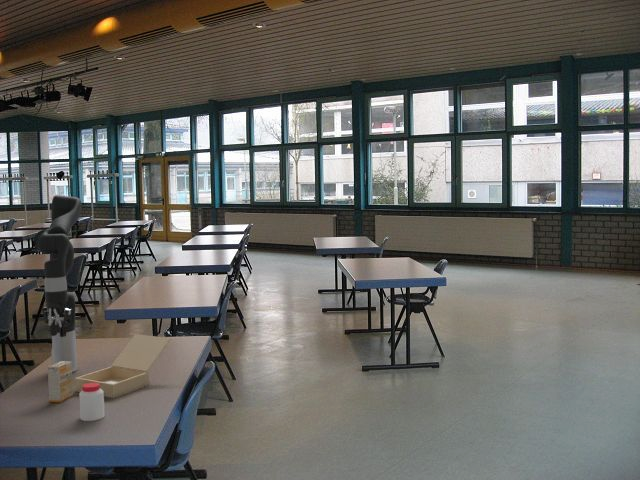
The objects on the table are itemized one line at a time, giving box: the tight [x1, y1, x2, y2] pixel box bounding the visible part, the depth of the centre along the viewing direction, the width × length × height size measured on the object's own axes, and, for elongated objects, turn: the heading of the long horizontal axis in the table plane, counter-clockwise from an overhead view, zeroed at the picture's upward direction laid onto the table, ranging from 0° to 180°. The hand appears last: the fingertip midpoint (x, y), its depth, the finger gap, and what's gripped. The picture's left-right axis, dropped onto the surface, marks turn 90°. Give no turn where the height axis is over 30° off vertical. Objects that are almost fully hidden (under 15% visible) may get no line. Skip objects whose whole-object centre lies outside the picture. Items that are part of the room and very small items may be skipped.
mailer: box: [74, 366, 150, 399], centre depth 257 cm, size 20×18×5 cm
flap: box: [110, 333, 172, 373], centre depth 270 cm, size 19×17×1 cm
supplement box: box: [47, 361, 74, 403], centre depth 244 cm, size 8×5×13 cm, turn 168°
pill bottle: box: [78, 383, 106, 422], centre depth 224 cm, size 8×8×11 cm
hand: (58, 335), depth 243 cm, fingers open, 4 cm apart
